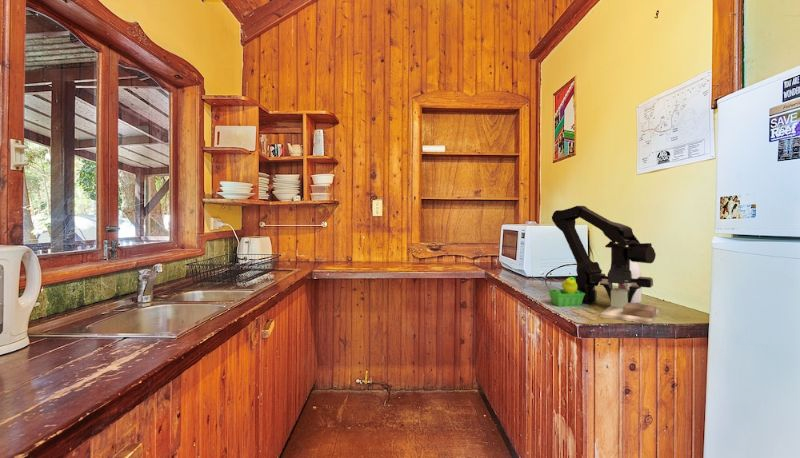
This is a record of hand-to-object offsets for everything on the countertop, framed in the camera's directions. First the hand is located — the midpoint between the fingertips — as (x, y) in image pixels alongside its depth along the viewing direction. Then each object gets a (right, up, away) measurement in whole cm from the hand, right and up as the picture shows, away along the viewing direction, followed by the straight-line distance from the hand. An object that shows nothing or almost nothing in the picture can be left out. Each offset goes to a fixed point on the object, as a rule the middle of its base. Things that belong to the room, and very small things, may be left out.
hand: (620, 303), depth 128 cm
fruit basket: (-15, -3, +8) cm, 18 cm away
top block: (0, -1, 0) cm, 1 cm away
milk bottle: (+11, -2, +12) cm, 16 cm away
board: (0, -2, -6) cm, 6 cm away
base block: (0, -1, -10) cm, 10 cm away
